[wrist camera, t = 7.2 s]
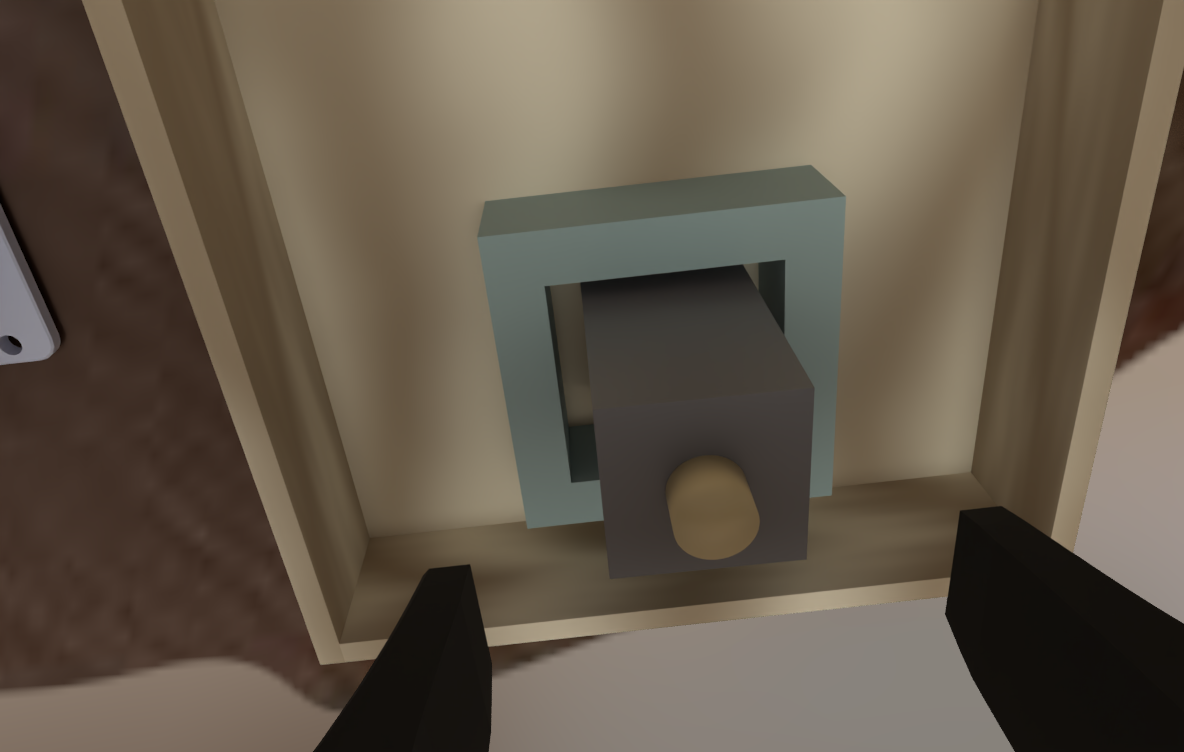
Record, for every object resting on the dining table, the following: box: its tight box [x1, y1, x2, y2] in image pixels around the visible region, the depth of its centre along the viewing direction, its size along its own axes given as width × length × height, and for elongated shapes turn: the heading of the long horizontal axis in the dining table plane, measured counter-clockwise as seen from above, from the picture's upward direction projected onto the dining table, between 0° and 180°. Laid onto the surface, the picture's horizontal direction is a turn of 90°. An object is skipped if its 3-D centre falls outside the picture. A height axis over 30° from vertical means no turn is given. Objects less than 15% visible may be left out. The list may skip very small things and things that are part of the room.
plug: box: [580, 264, 815, 579], centre depth 17 cm, size 4×4×8 cm
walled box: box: [82, 0, 1184, 665], centre depth 17 cm, size 18×20×4 cm
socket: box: [477, 165, 846, 529], centre depth 19 cm, size 7×7×2 cm
